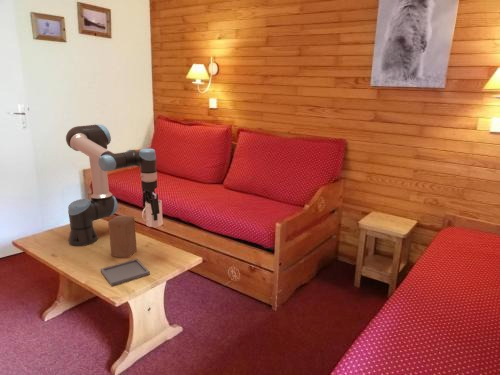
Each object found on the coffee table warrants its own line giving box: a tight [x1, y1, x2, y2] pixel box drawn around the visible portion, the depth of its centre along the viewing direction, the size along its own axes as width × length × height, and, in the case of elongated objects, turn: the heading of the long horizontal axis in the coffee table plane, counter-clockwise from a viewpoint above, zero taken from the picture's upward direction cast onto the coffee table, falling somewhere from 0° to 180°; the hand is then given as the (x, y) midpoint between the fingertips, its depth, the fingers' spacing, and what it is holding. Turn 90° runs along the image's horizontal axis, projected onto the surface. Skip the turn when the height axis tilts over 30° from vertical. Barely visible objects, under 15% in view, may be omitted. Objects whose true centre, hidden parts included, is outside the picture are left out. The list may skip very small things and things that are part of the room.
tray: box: [100, 258, 151, 287], centre depth 178 cm, size 16×18×2 cm
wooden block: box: [107, 214, 138, 259], centre depth 196 cm, size 10×10×20 cm
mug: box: [141, 199, 164, 228], centre depth 188 cm, size 12×8×12 cm
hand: (151, 223), depth 190 cm, fingers closed on mug, 8 cm apart
